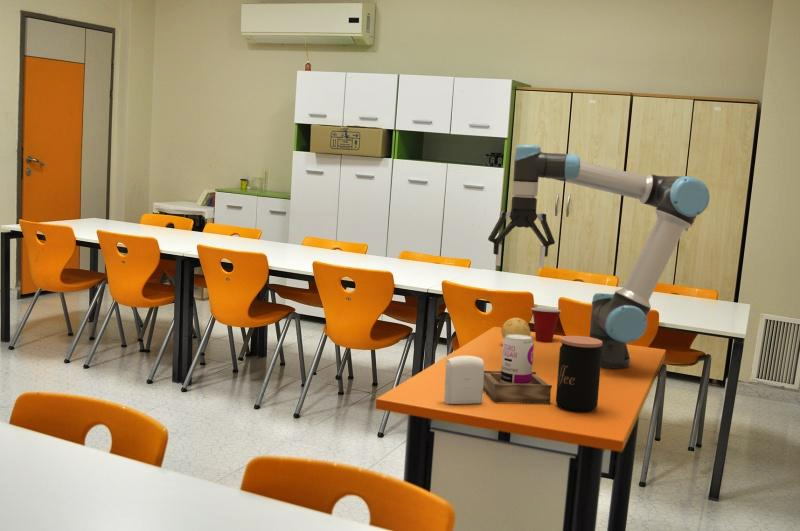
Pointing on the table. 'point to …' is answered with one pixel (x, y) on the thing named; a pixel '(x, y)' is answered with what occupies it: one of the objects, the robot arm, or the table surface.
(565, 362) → the coffee jar
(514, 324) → the stress ball
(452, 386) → the white rounded block
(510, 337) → the supplement can
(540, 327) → the plastic cup
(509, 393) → the crate
